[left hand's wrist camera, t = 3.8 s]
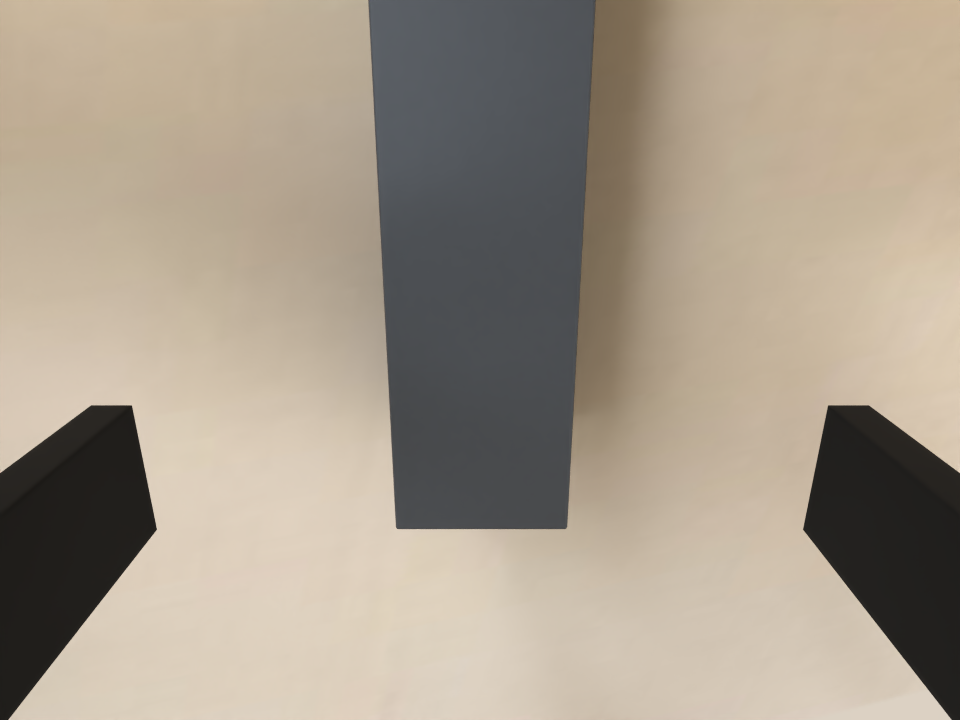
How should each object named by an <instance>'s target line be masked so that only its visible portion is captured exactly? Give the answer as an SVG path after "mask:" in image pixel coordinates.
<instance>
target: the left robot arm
mask: <svg viewBox="0 0 960 720" xmlns="http://www.w3.org/2000/svg"><path fill="white" fill-rule="evenodd" d="M156 530H157V528H156V523H155V518H154V513H153V508H152V503H151V498H150V493H149V488H148V483H147V478H146V473H145V468H144V463H143V458H142V454H141V449H140V444H139V439H138V434H137V429H136V424H135V419H134V414H133V409H132V406H90V407H89V408H87V409H86V410H85V411H83V412H82V413H80V414H79V415H78V416H76V417H75V418H74V419H72V420H71V421H70V422H68V423H67V424H66V425H64V426H63V427H62V428H60V429H59V430H58V431H56V432H55V433H54V434H52V435H51V436H50V437H48V438H47V439H46V440H44V441H43V442H42V443H40V444H39V445H38V446H36V447H35V448H33V449H32V450H31V451H29V452H28V453H27V454H25V455H24V456H23V457H21V458H20V459H19V460H17V461H16V462H15V463H13V464H12V465H11V466H9V467H8V468H7V469H5V470H4V471H3V472H1V473H0V720H8V719H9V718H10V717H11V716H12V714H13V713H14V712H15V710H16V709H17V708H18V707H19V705H20V704H21V703H22V701H23V700H24V699H25V698H26V696H27V695H28V694H29V692H30V691H31V690H32V689H33V687H34V686H35V685H36V684H37V682H38V681H39V680H40V678H41V677H42V676H43V675H44V673H45V672H46V671H47V669H48V668H49V667H50V666H51V664H52V663H53V662H54V660H55V659H56V658H57V657H58V655H59V654H60V653H61V652H62V650H63V649H64V648H65V646H66V645H67V644H68V643H69V641H70V640H71V639H72V637H73V636H74V635H75V634H76V632H77V631H78V630H79V628H80V627H81V626H82V625H83V623H84V622H85V621H86V620H87V618H88V617H89V616H90V614H91V613H92V612H93V611H94V609H95V608H96V607H97V605H98V604H99V603H100V602H101V600H102V599H103V598H104V597H105V595H106V594H107V593H108V591H109V590H110V589H111V588H112V586H113V585H114V584H115V582H116V581H117V580H118V579H119V577H120V576H121V575H122V573H123V572H124V571H125V570H126V568H127V567H128V566H129V565H130V563H131V562H132V561H133V559H134V558H135V557H136V556H137V554H138V553H139V552H140V550H141V549H142V548H143V547H144V545H145V544H146V543H147V541H148V540H149V539H150V538H151V536H152V535H153V534H154V533H155V531H156ZM803 530H804V531H805V533H806V534H807V535H808V536H809V538H810V539H811V540H812V541H813V543H814V544H815V545H816V547H817V548H818V549H819V550H820V552H821V553H822V554H823V556H824V557H825V558H826V559H827V561H828V562H829V563H830V565H831V566H832V567H833V568H834V570H835V571H836V572H837V573H838V575H839V576H840V577H841V579H842V580H843V581H844V582H845V584H846V585H847V586H848V588H849V589H850V590H851V591H852V593H853V594H854V595H855V597H856V598H857V599H858V600H859V602H860V603H861V604H862V605H863V607H864V608H865V609H866V611H867V612H868V613H869V614H870V616H871V617H872V618H873V620H874V621H875V622H876V623H877V625H878V626H879V627H880V629H881V630H882V631H883V632H884V634H885V635H886V636H887V637H888V639H889V640H890V641H891V643H892V644H893V645H894V646H895V648H896V649H897V650H898V652H899V653H900V654H901V655H902V657H903V658H904V659H905V660H906V662H907V663H908V664H909V666H910V667H911V668H912V669H913V671H914V672H915V673H916V675H917V676H918V677H919V678H920V680H921V681H922V682H923V684H924V685H925V686H926V687H927V689H928V690H929V691H930V692H931V694H932V695H933V696H934V698H935V699H936V700H937V701H938V703H939V704H940V705H941V707H942V708H943V709H944V710H945V712H946V713H947V714H948V716H949V717H950V718H951V719H952V720H960V473H959V472H957V471H956V470H955V469H953V468H952V467H951V466H949V465H948V464H947V463H945V462H944V461H943V460H941V459H940V458H939V457H937V456H936V455H935V454H933V453H932V452H931V451H929V450H928V449H927V448H925V447H924V446H922V445H921V444H920V443H918V442H917V441H916V440H914V439H913V438H912V437H910V436H909V435H908V434H906V433H905V432H904V431H902V430H901V429H900V428H898V427H897V426H896V425H894V424H893V423H892V422H890V421H889V420H888V419H886V418H885V417H884V416H882V415H881V414H880V413H878V412H877V411H875V410H874V409H873V408H871V407H870V406H828V409H827V414H826V419H825V424H824V429H823V434H822V439H821V444H820V449H819V453H818V458H817V463H816V468H815V473H814V478H813V483H812V488H811V493H810V498H809V503H808V508H807V513H806V518H805V523H804V528H803Z"/></svg>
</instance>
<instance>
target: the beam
mask: <svg viewBox="0 0 960 720" xmlns="http://www.w3.org/2000/svg"><path fill="white" fill-rule="evenodd" d="M368 1H369V20H370V39H371V59H372V78H373V97H374V116H375V135H376V154H377V173H378V192H379V211H380V230H381V249H382V268H383V287H384V306H385V325H386V344H387V364H388V383H389V402H390V421H391V440H392V459H393V478H394V497H395V516H396V528H397V529H566V528H567V519H568V501H569V482H570V464H571V445H572V427H573V408H574V390H575V372H576V353H577V335H578V316H579V298H580V279H581V261H582V242H583V224H584V205H585V187H586V168H587V150H588V131H589V113H590V94H591V76H592V57H593V39H594V20H595V2H596V0H368Z"/></svg>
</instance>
